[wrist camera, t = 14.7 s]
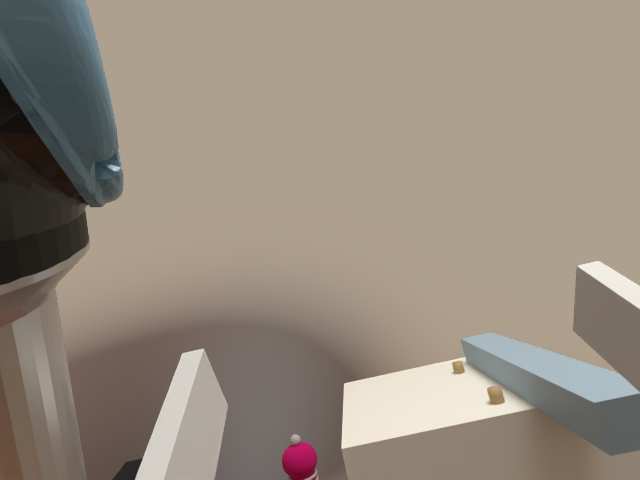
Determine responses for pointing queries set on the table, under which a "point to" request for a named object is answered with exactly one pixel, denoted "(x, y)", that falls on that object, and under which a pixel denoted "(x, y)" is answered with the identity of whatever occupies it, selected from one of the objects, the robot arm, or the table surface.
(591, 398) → the batten
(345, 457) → the plinth
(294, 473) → the pepper mill
